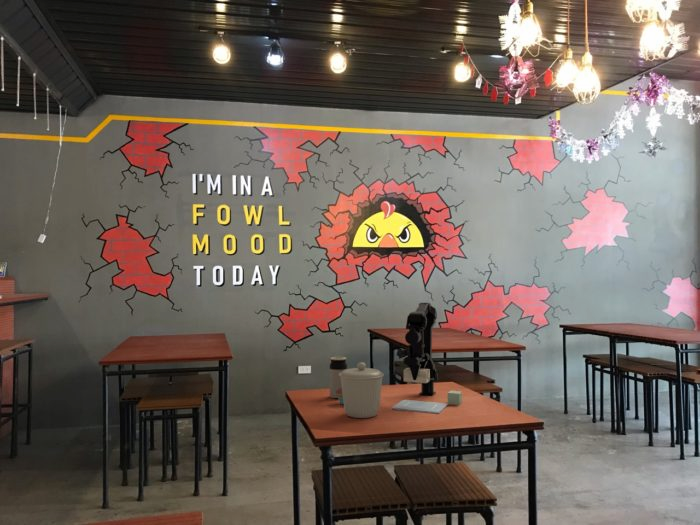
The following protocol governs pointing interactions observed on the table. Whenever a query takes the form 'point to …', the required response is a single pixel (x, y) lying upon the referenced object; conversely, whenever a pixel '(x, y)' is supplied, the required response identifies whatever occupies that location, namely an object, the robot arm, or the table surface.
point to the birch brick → (421, 377)
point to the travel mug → (336, 374)
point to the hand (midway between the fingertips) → (416, 378)
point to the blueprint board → (420, 406)
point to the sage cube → (455, 397)
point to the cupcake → (340, 395)
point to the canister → (361, 391)
